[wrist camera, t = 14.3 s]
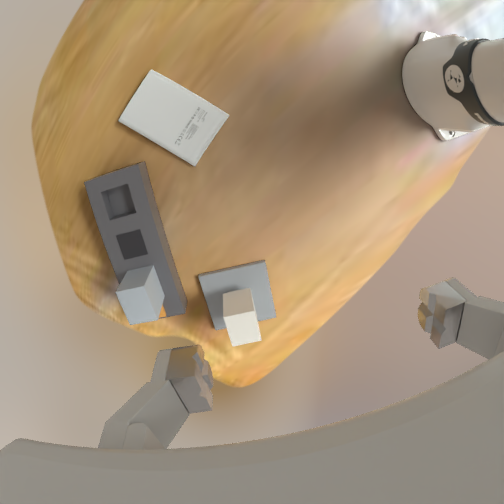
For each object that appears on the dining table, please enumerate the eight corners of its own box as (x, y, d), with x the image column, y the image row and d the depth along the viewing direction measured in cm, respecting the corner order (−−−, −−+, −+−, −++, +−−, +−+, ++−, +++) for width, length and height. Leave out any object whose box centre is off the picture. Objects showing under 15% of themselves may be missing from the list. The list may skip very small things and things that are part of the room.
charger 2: (248, 281, 46) (254, 310, 39) (255, 308, 48) (261, 340, 41) (222, 287, 46) (223, 317, 39) (230, 314, 48) (232, 346, 41)
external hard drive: (153, 70, 34) (229, 115, 38) (121, 121, 37) (195, 166, 40) (150, 68, 33) (229, 115, 36) (117, 121, 35) (194, 167, 39)
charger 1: (153, 264, 41) (144, 285, 35) (164, 296, 43) (157, 320, 37) (127, 270, 41) (115, 292, 35) (139, 301, 42) (130, 324, 37)
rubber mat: (264, 259, 46) (265, 262, 45) (275, 314, 50) (276, 317, 49) (198, 274, 46) (198, 276, 45) (215, 327, 50) (215, 330, 49)
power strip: (144, 161, 39) (136, 164, 35) (187, 300, 47) (184, 315, 43) (94, 177, 39) (82, 183, 35) (141, 309, 47) (135, 324, 43)
